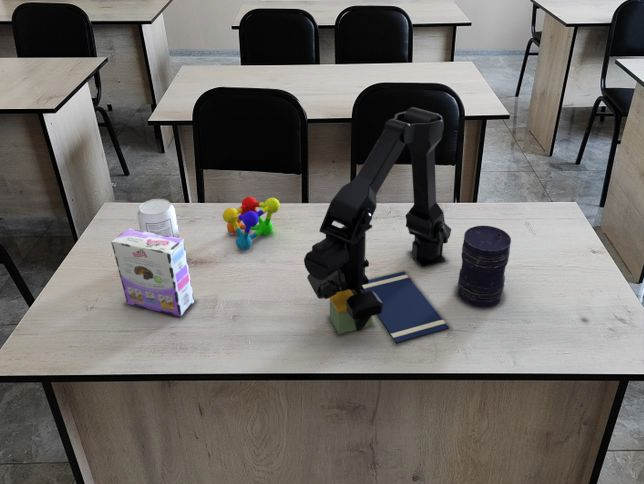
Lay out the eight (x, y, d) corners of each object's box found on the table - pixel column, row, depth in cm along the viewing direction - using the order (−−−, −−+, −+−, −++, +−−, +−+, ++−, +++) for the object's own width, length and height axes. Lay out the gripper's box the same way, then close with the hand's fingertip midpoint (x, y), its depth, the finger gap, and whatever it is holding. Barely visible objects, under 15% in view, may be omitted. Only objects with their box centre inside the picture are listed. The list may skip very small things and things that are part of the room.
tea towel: (404, 272, 141) (404, 271, 141) (448, 328, 124) (449, 327, 124) (356, 284, 137) (356, 282, 137) (396, 343, 120) (396, 342, 120)
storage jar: (471, 312, 128) (479, 255, 121) (448, 286, 136) (454, 230, 128) (511, 302, 132) (521, 245, 124) (486, 276, 139) (494, 221, 132)
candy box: (195, 301, 131) (185, 238, 123) (180, 318, 127) (168, 253, 118) (142, 288, 135) (128, 226, 127) (125, 304, 130) (109, 240, 122)
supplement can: (140, 266, 143) (128, 211, 135) (162, 248, 149) (152, 194, 141) (168, 273, 140) (158, 218, 132) (190, 255, 146) (180, 201, 139)
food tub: (362, 309, 129) (362, 285, 126) (372, 326, 125) (373, 302, 122) (328, 317, 127) (328, 294, 124) (338, 335, 122) (338, 311, 119)
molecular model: (221, 231, 156) (247, 180, 155) (261, 253, 156) (288, 202, 155) (204, 236, 141) (234, 179, 140) (249, 260, 141) (279, 204, 140)
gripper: (296, 238, 122) (299, 299, 130) (327, 291, 107) (329, 356, 115) (347, 227, 125) (347, 287, 134) (385, 277, 111) (382, 341, 119)
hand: (350, 316), depth 125 cm, fingers open, 9 cm apart
